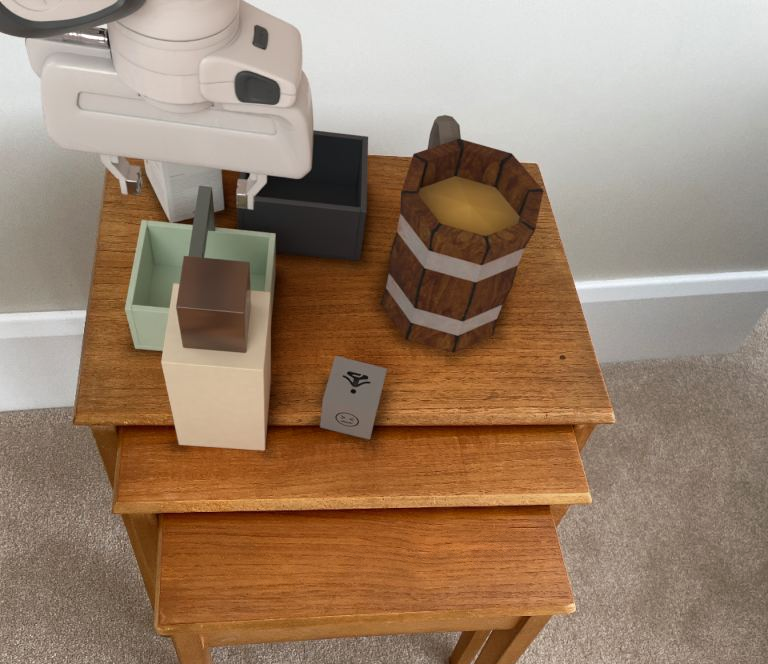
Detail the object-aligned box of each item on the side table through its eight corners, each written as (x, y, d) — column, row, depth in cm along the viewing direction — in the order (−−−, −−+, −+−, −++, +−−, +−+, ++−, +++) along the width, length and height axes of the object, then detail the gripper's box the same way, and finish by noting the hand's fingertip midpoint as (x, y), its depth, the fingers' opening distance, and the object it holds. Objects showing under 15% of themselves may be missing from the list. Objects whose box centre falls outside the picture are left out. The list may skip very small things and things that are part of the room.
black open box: (239, 249, 84) (236, 198, 77) (247, 175, 88) (245, 122, 82) (359, 261, 85) (366, 212, 79) (361, 188, 90) (368, 136, 84)
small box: (226, 211, 86) (218, 105, 74) (169, 225, 84) (153, 118, 72) (199, 160, 89) (188, 51, 77) (144, 172, 87) (125, 62, 75)
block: (182, 348, 62) (175, 306, 58) (189, 298, 64) (183, 255, 60) (246, 353, 63) (244, 312, 58) (251, 304, 65) (249, 261, 60)
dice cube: (380, 398, 78) (387, 368, 74) (370, 439, 76) (376, 412, 71) (331, 385, 78) (335, 355, 73) (319, 427, 76) (322, 398, 71)
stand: (178, 445, 73) (160, 362, 61) (188, 374, 76) (173, 282, 65) (265, 451, 74) (263, 370, 62) (270, 380, 77) (270, 291, 66)
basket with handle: (134, 349, 77) (114, 270, 67) (150, 263, 81) (133, 178, 72) (268, 360, 78) (267, 285, 68) (275, 275, 83) (276, 193, 73)
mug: (514, 349, 83) (561, 246, 69) (390, 355, 80) (413, 250, 67) (477, 211, 91) (512, 94, 77) (363, 213, 88) (379, 93, 75)
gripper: (8, 47, 51) (55, 209, 64) (318, 91, 54) (306, 238, 66) (27, -12, 54) (69, 154, 66) (322, 33, 57) (309, 184, 69)
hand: (189, 196), depth 66 cm, fingers open, 8 cm apart
